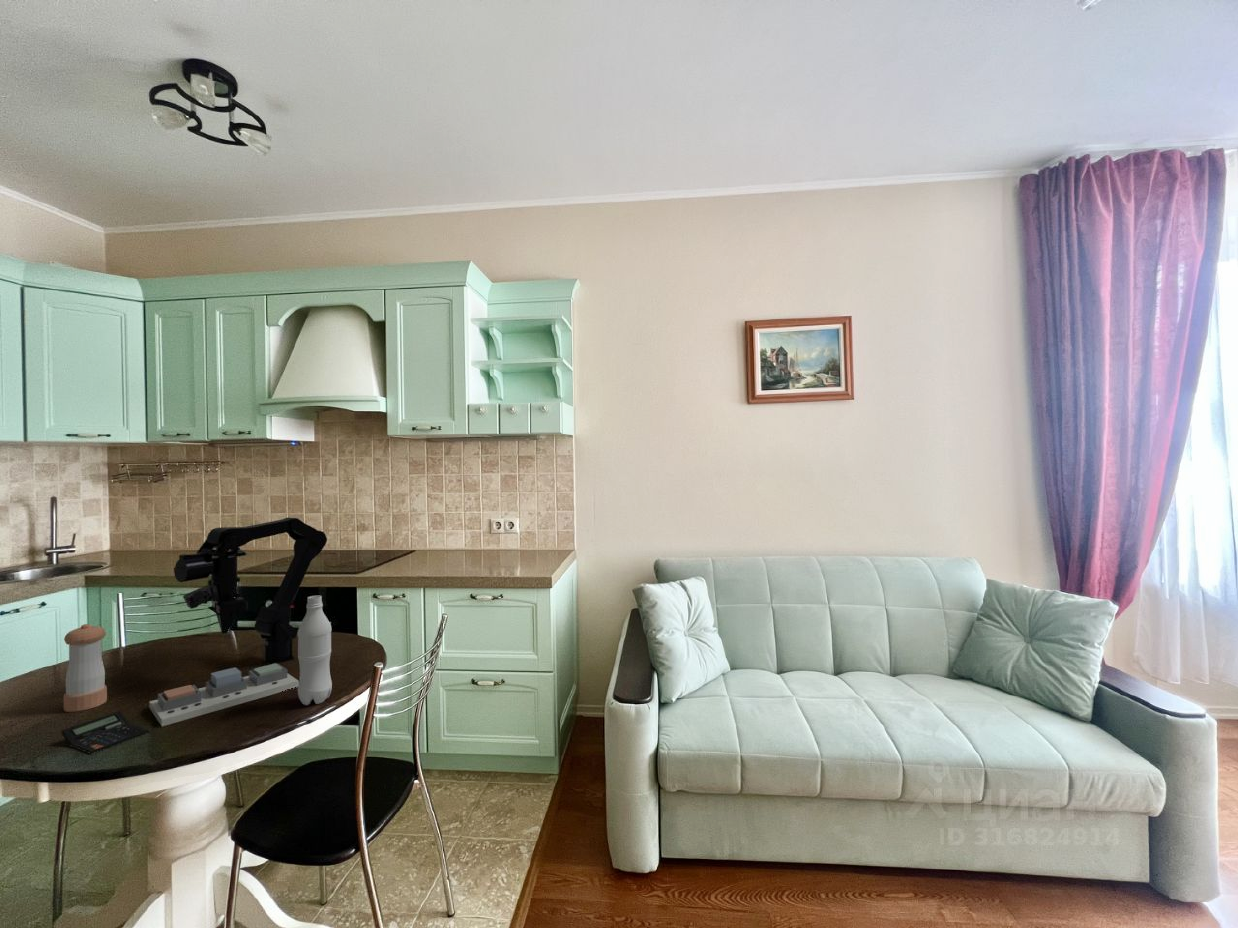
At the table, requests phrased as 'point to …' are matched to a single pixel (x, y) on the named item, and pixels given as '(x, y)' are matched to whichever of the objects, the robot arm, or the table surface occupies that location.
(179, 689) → the three dot button
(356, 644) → the table surface
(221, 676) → the two dot button
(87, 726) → the calculator
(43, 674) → the table surface
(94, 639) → the pepper shaker
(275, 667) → the one dot button
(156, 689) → the table surface
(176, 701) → the button board
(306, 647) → the water bottle
